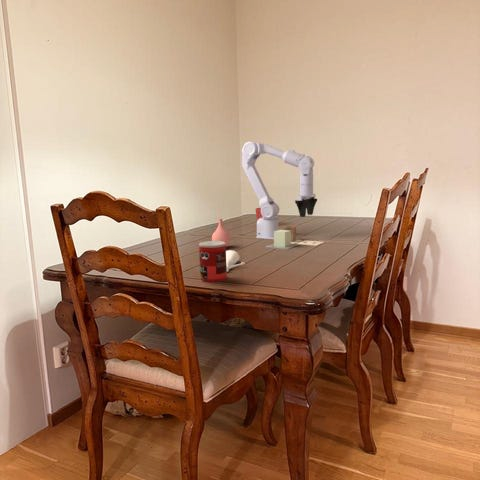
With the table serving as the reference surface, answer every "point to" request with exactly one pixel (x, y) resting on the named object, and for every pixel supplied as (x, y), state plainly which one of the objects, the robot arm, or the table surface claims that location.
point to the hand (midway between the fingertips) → (306, 215)
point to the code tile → (310, 242)
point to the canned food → (212, 261)
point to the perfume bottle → (221, 234)
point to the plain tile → (296, 241)
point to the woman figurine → (232, 259)
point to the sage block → (282, 238)
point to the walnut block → (293, 232)
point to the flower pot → (258, 213)
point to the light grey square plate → (282, 247)
